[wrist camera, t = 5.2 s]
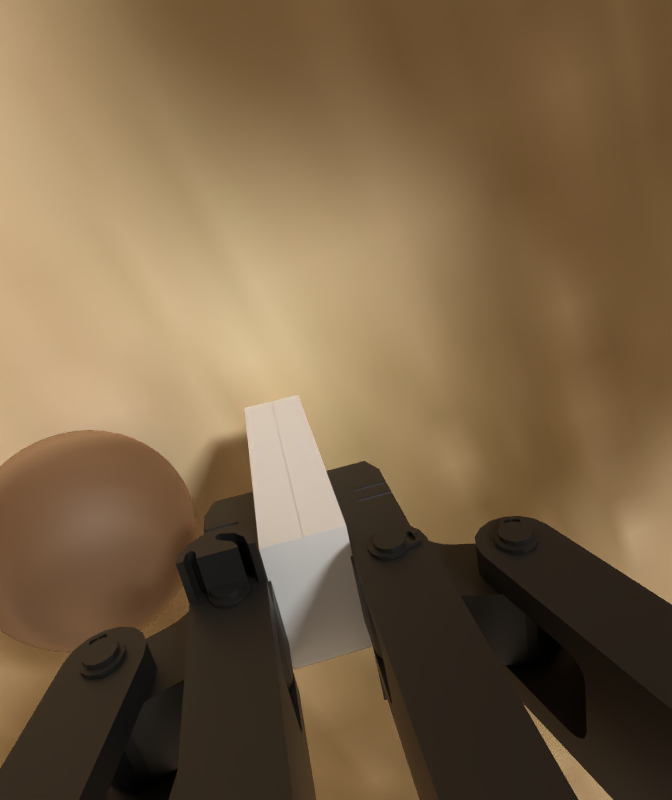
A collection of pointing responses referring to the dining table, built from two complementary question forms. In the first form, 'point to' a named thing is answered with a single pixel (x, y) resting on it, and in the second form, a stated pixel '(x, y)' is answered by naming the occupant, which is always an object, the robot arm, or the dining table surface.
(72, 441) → the brown ball
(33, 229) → the dining table surface
